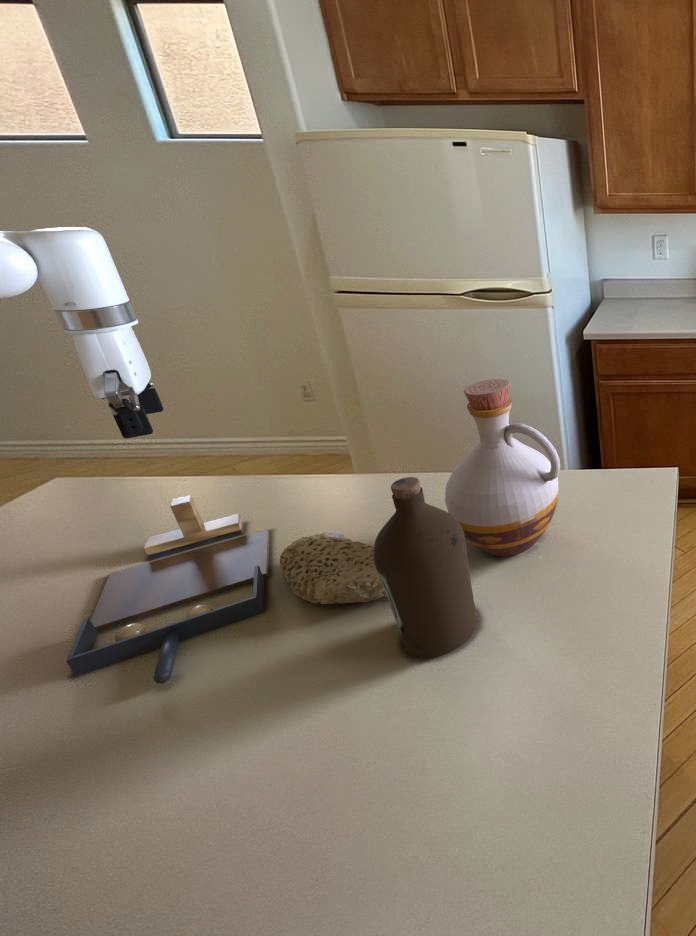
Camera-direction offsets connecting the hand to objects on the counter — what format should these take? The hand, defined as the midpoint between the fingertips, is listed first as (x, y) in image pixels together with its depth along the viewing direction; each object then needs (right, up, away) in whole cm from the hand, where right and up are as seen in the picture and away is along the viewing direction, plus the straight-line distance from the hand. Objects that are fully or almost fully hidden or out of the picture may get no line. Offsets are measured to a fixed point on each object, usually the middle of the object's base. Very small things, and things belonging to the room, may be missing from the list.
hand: (145, 423), depth 86 cm
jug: (+54, -22, +11) cm, 59 cm away
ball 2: (+16, -27, -8) cm, 32 cm away
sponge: (+31, -26, +1) cm, 40 cm away
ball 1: (+10, -28, -11) cm, 32 cm away
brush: (0, -21, +9) cm, 23 cm away
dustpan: (+15, -30, -10) cm, 35 cm away
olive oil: (+50, -30, -8) cm, 59 cm away
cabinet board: (+6, -25, +1) cm, 26 cm away
